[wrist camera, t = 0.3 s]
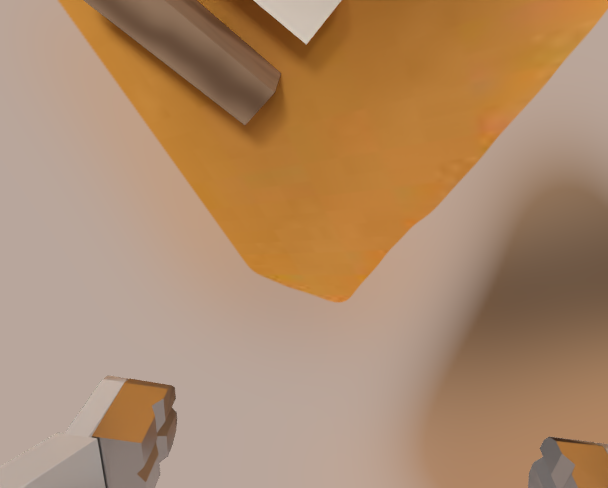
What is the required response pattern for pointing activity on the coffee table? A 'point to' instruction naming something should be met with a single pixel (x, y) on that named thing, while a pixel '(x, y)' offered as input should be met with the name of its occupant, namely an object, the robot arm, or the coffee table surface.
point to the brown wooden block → (197, 50)
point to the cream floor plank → (300, 14)
